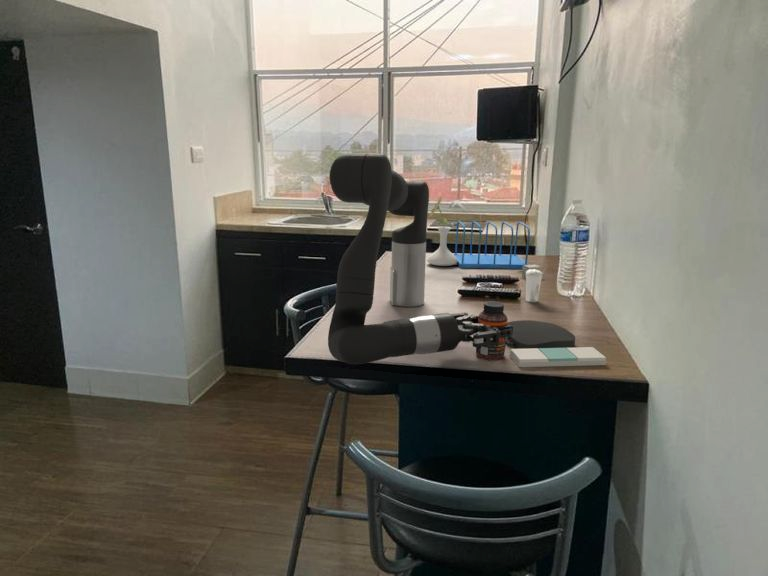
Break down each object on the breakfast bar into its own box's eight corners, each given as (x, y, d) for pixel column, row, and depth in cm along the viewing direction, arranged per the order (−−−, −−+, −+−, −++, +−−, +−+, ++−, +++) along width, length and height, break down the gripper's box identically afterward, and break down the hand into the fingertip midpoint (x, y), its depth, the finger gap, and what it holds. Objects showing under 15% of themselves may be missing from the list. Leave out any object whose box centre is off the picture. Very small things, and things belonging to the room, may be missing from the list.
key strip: (518, 367, 108) (519, 359, 108) (509, 355, 114) (509, 348, 114) (605, 365, 110) (606, 357, 110) (592, 354, 116) (592, 346, 115)
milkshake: (543, 303, 152) (546, 268, 150) (523, 302, 153) (526, 267, 151) (542, 299, 157) (545, 265, 154) (523, 298, 158) (525, 264, 155)
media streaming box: (581, 349, 119) (583, 336, 118) (522, 356, 115) (523, 343, 114) (544, 328, 132) (545, 317, 132) (489, 334, 128) (490, 322, 128)
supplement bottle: (487, 362, 110) (491, 309, 107) (469, 353, 115) (472, 301, 113) (510, 358, 113) (514, 305, 110) (492, 348, 118) (495, 298, 115)
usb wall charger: (539, 278, 182) (540, 266, 181) (521, 279, 180) (522, 267, 179) (532, 275, 186) (533, 264, 185) (515, 277, 184) (515, 265, 183)
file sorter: (459, 268, 195) (461, 226, 191) (452, 259, 212) (454, 219, 208) (529, 269, 196) (532, 226, 192) (516, 259, 213) (519, 220, 209)
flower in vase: (436, 260, 208) (439, 194, 202) (463, 264, 201) (467, 196, 195) (418, 266, 198) (420, 196, 191) (446, 270, 191) (449, 198, 185)
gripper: (448, 326, 100) (523, 317, 106) (414, 305, 113) (483, 298, 119) (446, 365, 102) (520, 353, 108) (413, 340, 115) (481, 331, 121)
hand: (500, 324), depth 113 cm, fingers open, 7 cm apart
